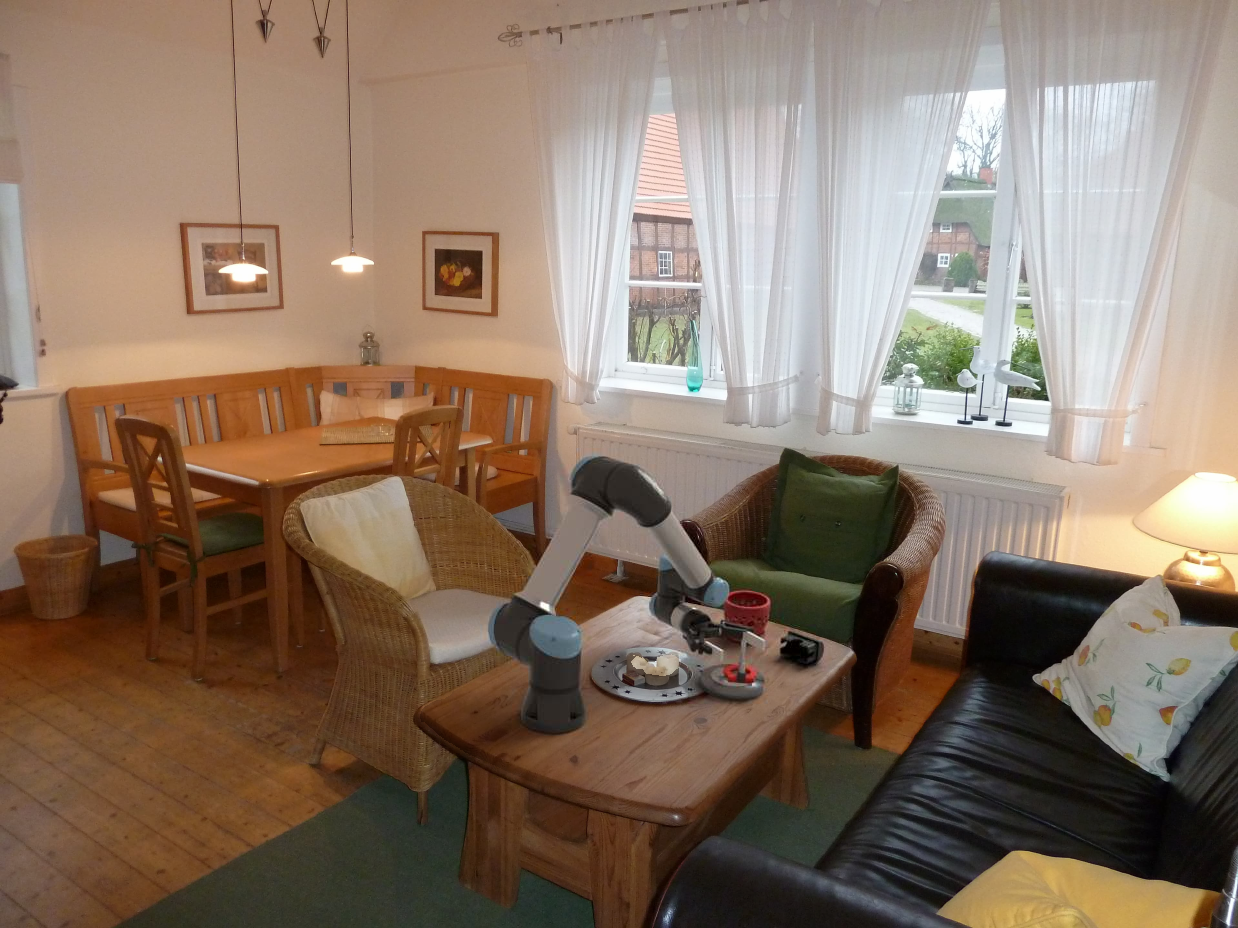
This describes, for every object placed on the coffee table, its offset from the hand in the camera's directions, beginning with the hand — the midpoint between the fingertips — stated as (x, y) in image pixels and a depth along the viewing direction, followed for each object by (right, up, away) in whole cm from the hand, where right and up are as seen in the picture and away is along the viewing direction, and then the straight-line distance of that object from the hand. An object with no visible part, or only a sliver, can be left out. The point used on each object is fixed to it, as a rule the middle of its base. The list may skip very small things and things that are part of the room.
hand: (743, 650), depth 240 cm
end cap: (+19, -7, +23) cm, 31 cm away
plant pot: (+5, -4, +37) cm, 37 cm away
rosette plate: (-2, -10, +5) cm, 11 cm away
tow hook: (0, -7, +5) cm, 9 cm away
